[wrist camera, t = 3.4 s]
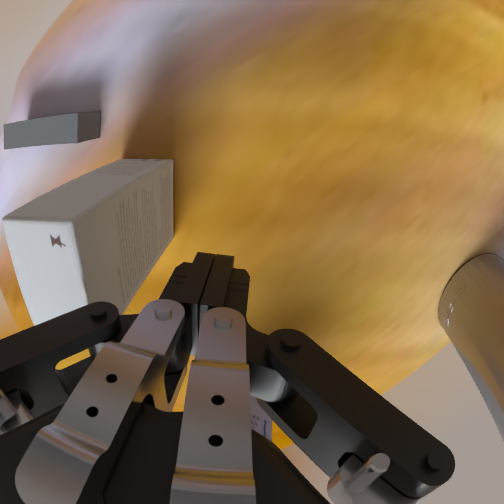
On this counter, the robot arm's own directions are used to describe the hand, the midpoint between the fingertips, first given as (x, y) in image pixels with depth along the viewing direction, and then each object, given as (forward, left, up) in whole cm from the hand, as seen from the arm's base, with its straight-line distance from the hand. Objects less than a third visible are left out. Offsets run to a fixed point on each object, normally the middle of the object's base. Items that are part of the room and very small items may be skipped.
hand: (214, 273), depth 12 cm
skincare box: (+6, 0, -9) cm, 11 cm away
